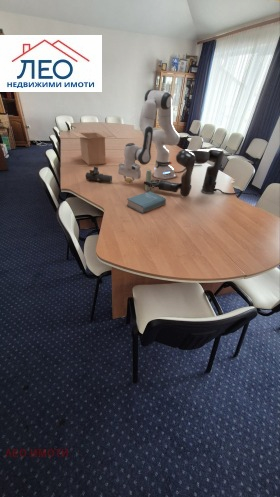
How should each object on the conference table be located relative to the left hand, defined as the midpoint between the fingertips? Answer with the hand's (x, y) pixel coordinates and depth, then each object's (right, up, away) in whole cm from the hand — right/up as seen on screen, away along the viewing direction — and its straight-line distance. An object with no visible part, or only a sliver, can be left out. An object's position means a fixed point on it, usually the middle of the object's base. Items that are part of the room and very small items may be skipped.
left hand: (129, 181), depth 187 cm
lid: (0, +1, -1) cm, 2 cm away
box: (-41, +37, +49) cm, 74 cm away
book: (+14, -26, -30) cm, 42 cm away
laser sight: (-26, +1, +3) cm, 26 cm away
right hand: (+13, -3, -10) cm, 17 cm away
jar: (+16, -9, -7) cm, 19 cm away
